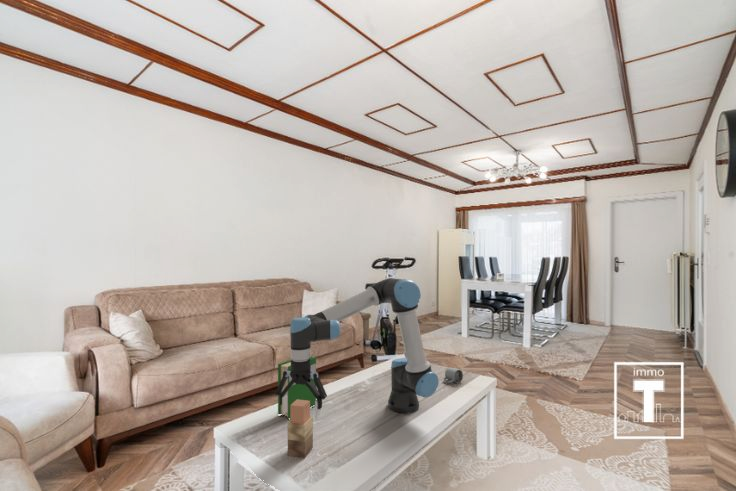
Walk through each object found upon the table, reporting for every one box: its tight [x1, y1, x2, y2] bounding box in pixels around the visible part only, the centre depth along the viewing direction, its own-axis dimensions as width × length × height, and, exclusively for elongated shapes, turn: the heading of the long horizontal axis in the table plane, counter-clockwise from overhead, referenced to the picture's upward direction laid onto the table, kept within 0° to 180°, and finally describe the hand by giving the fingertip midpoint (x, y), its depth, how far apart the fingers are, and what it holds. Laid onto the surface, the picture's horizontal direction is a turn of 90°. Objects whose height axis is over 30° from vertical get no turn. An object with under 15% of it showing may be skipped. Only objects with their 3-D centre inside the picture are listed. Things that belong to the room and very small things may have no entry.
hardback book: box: [277, 355, 317, 419], centre depth 172 cm, size 18×7×24 cm, turn 146°
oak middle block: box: [287, 416, 314, 442], centre depth 137 cm, size 7×7×6 cm
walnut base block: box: [287, 432, 314, 459], centre depth 136 cm, size 7×7×6 cm
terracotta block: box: [289, 399, 311, 424], centre depth 137 cm, size 6×6×6 cm
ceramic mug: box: [443, 367, 464, 385], centre depth 211 cm, size 11×8×8 cm
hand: (301, 415), depth 137 cm, fingers open, 13 cm apart
